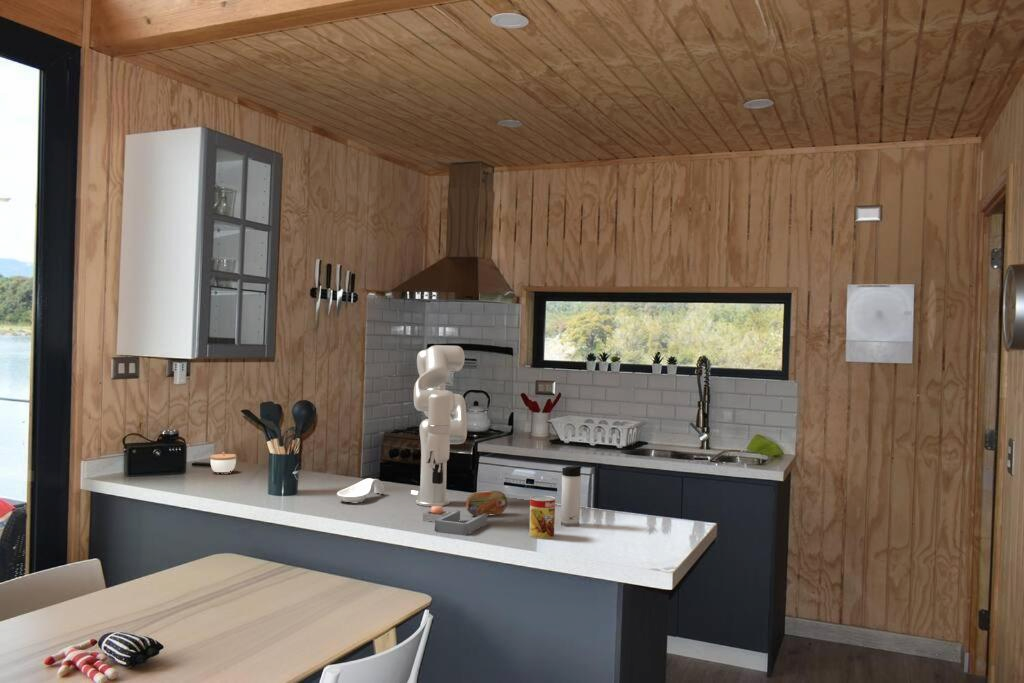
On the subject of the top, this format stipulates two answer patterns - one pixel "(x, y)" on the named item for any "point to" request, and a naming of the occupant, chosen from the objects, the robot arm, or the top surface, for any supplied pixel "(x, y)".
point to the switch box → (434, 516)
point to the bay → (452, 526)
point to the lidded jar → (223, 462)
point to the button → (437, 510)
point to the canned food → (542, 517)
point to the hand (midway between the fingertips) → (437, 483)
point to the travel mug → (570, 496)
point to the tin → (486, 503)
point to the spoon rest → (360, 490)
